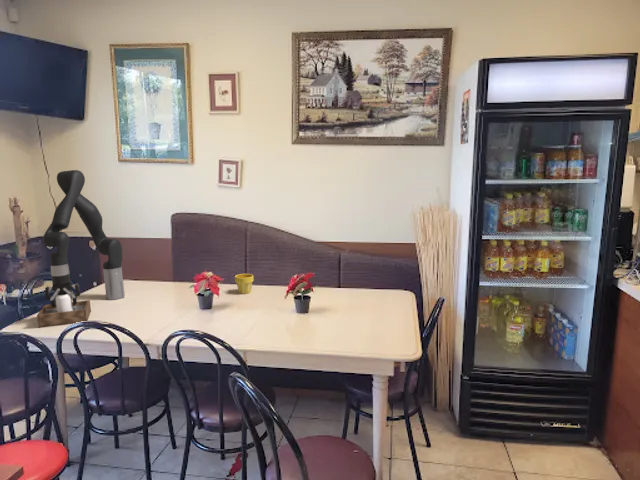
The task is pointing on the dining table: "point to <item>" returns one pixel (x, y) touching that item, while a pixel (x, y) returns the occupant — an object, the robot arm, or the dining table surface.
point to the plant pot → (244, 283)
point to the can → (63, 303)
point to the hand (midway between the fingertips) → (64, 306)
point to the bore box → (63, 315)
